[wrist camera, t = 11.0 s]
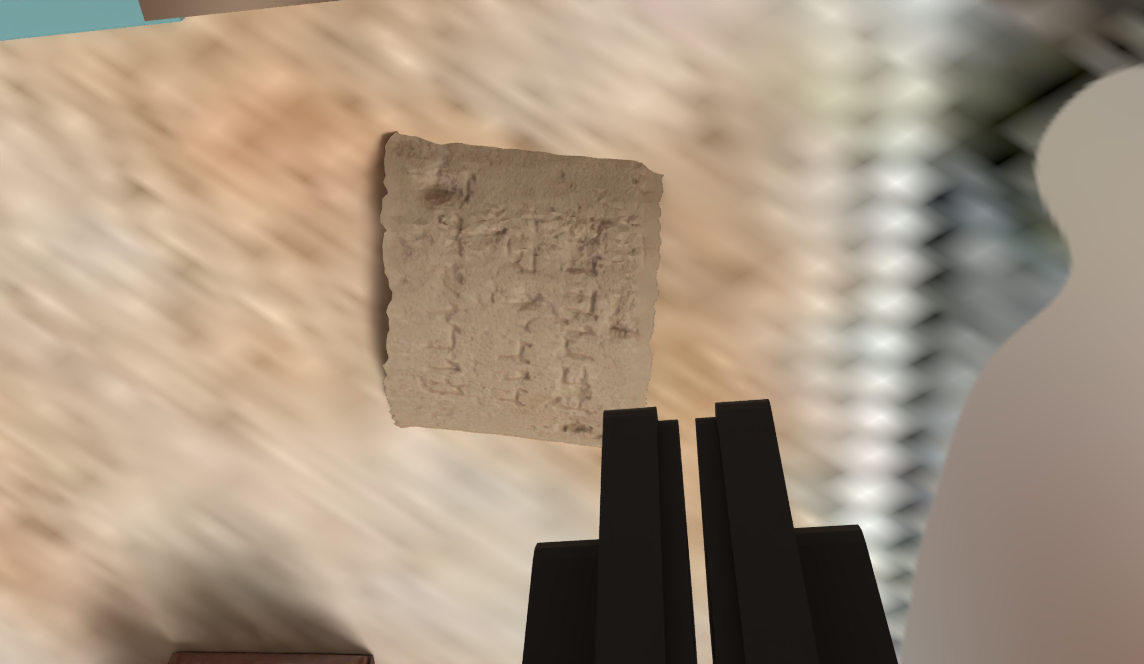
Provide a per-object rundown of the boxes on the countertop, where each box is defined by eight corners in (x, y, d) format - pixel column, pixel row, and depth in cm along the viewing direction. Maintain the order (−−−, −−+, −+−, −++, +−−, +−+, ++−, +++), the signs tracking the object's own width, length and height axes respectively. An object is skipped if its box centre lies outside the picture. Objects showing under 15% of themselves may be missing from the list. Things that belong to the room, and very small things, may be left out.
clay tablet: (385, 114, 38) (370, 144, 36) (672, 133, 38) (675, 165, 36) (397, 438, 46) (385, 480, 44) (636, 455, 46) (637, 498, 44)
